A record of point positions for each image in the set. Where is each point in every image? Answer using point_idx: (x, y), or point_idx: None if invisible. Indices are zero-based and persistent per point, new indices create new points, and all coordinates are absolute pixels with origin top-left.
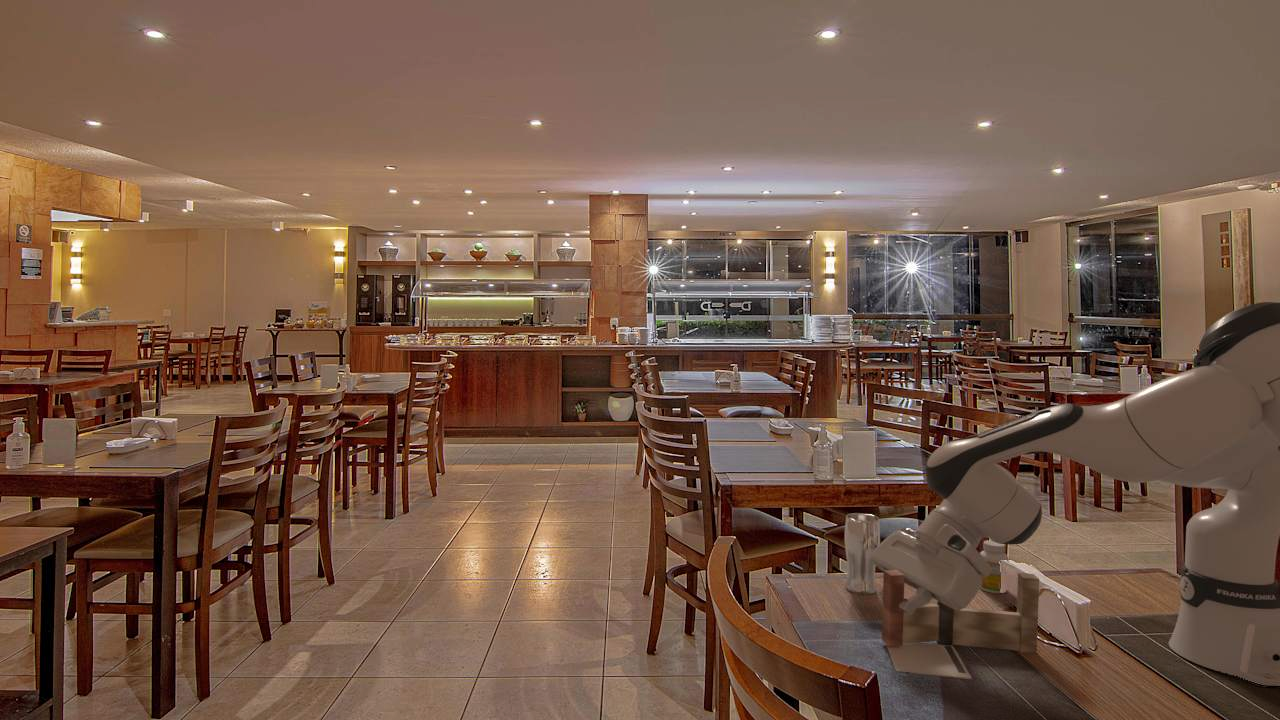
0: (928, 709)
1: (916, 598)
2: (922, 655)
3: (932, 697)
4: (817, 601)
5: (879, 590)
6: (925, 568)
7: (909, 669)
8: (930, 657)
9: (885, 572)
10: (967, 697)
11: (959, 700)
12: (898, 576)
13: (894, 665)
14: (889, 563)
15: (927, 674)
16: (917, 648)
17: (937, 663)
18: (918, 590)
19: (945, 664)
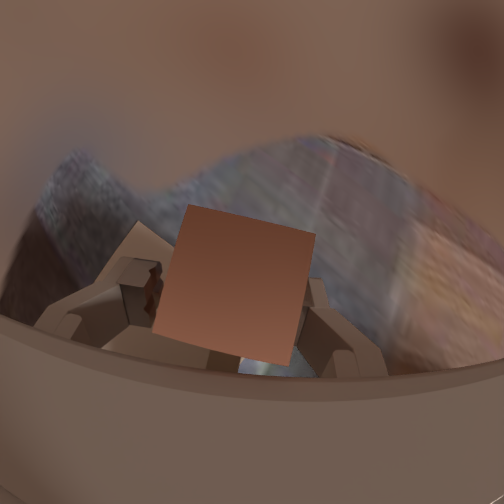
0: (45, 185)
1: (74, 294)
2: (161, 339)
3: (55, 217)
4: (479, 300)
5: (323, 285)
6: (17, 445)
7: (126, 251)
8: (146, 349)
9: (284, 229)
10: (29, 276)
11: (31, 254)
12: (169, 272)
13: (154, 233)
14: (418, 398)
15: (99, 275)
16: (196, 360)
17: (119, 337)
18: (66, 323)
19: (109, 350)
